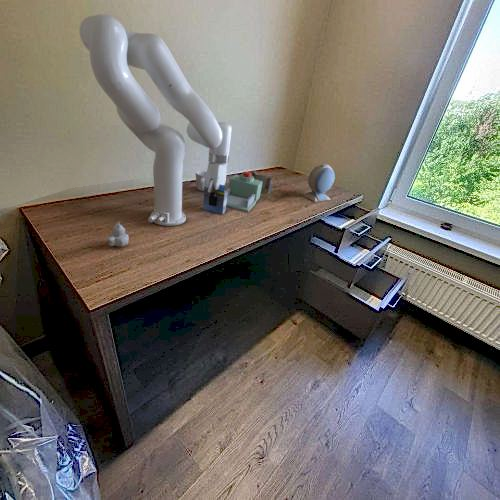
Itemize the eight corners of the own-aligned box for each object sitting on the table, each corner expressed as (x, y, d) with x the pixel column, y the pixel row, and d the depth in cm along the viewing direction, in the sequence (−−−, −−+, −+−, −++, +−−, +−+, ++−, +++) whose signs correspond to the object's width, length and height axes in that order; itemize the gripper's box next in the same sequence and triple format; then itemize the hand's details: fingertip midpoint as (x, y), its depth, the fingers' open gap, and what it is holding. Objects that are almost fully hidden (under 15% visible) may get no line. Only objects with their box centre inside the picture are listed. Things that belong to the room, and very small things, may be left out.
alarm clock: (318, 193, 156) (327, 161, 147) (332, 199, 149) (342, 166, 140) (300, 195, 148) (309, 161, 139) (313, 202, 142) (323, 167, 133)
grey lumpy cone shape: (134, 245, 84) (132, 221, 80) (114, 253, 79) (111, 228, 75) (122, 238, 87) (119, 215, 82) (102, 246, 82) (99, 222, 77)
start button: (249, 178, 127) (249, 174, 126) (241, 177, 128) (242, 172, 127) (251, 176, 130) (252, 172, 129) (244, 175, 131) (244, 170, 130)
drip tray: (247, 212, 118) (249, 203, 116) (215, 203, 121) (216, 194, 119) (256, 203, 129) (257, 194, 127) (226, 195, 132) (227, 187, 130)
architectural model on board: (249, 187, 146) (251, 169, 141) (252, 186, 148) (254, 168, 143) (267, 194, 141) (270, 175, 136) (270, 193, 144) (273, 174, 139)
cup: (209, 195, 128) (210, 178, 124) (192, 193, 128) (192, 176, 124) (212, 188, 137) (213, 172, 133) (196, 185, 137) (197, 169, 133)
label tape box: (226, 211, 116) (229, 182, 110) (222, 214, 112) (225, 185, 106) (206, 206, 117) (208, 178, 111) (202, 209, 114) (204, 180, 108)
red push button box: (255, 202, 129) (258, 181, 124) (227, 195, 132) (229, 174, 127) (259, 197, 136) (263, 177, 131) (233, 190, 139) (235, 171, 134)
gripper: (218, 152, 112) (214, 195, 121) (199, 160, 98) (197, 208, 107) (235, 156, 110) (230, 199, 120) (219, 164, 96) (215, 212, 106)
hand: (215, 203), depth 113 cm, fingers closed on label tape box, 4 cm apart
